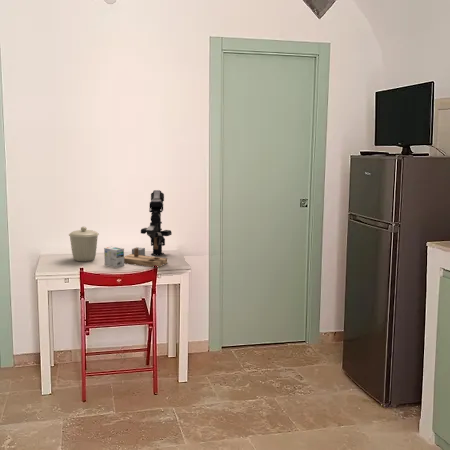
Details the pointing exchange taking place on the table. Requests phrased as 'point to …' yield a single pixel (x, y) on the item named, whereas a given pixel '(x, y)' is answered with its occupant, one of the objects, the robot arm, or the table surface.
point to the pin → (155, 243)
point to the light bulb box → (114, 256)
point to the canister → (83, 244)
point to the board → (144, 259)
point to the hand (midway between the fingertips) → (156, 245)
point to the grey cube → (139, 251)
